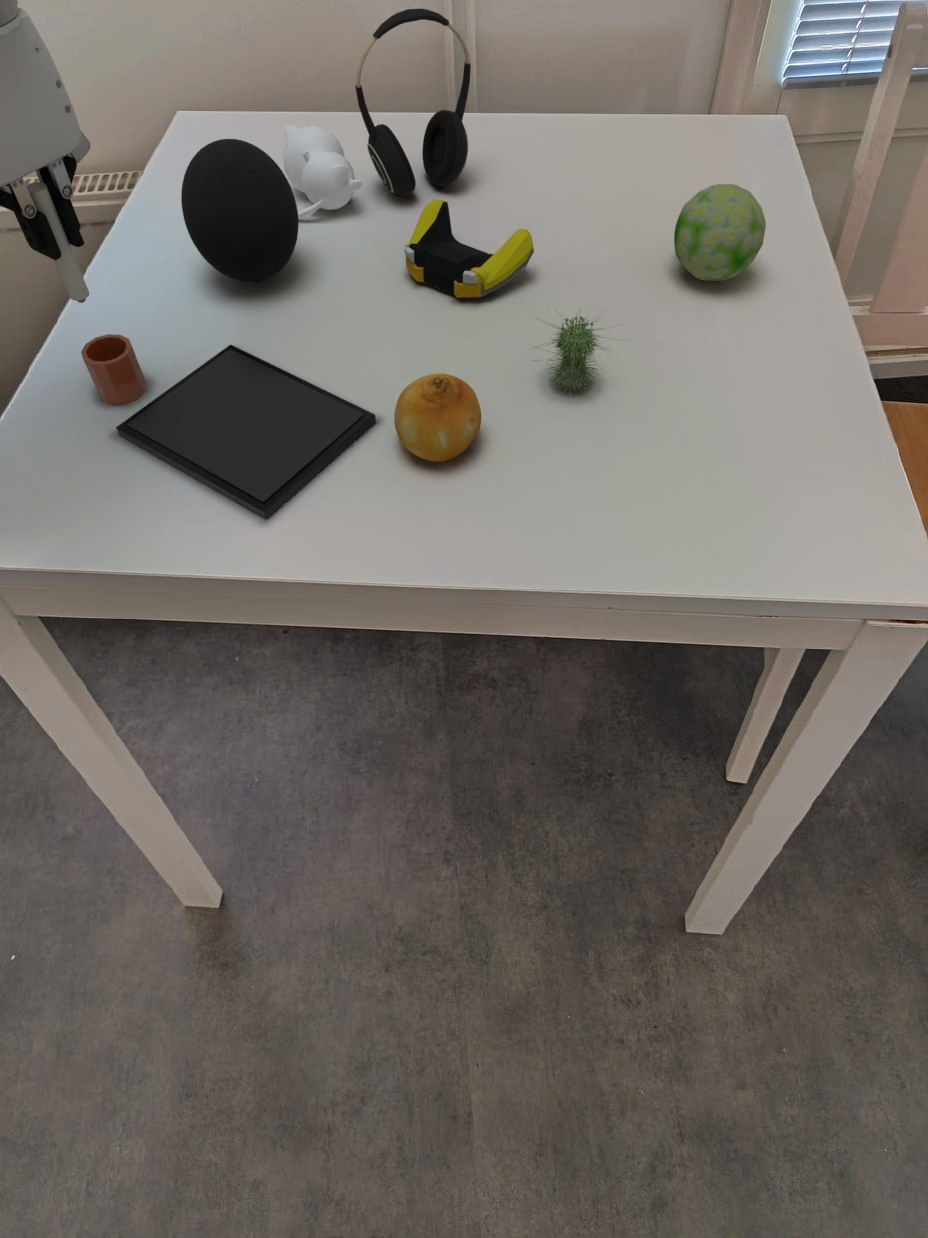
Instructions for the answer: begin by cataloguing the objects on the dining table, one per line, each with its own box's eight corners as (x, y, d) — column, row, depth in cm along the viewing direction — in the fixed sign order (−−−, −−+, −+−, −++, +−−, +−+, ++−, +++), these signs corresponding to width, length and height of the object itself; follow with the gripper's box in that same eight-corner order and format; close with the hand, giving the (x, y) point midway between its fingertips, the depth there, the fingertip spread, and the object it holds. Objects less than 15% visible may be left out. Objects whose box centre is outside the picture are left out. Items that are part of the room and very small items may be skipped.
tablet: (266, 519, 77) (263, 510, 76) (118, 435, 84) (114, 425, 83) (376, 422, 84) (375, 412, 83) (232, 351, 91) (229, 342, 90)
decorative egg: (329, 266, 101) (308, 134, 89) (260, 318, 95) (228, 185, 83) (251, 235, 105) (221, 105, 93) (180, 284, 99) (139, 152, 87)
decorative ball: (769, 283, 97) (796, 197, 89) (699, 308, 95) (719, 222, 87) (717, 242, 102) (737, 157, 94) (648, 264, 100) (663, 179, 92)
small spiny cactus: (636, 421, 84) (649, 358, 78) (516, 424, 84) (519, 361, 78) (621, 346, 91) (632, 283, 85) (510, 348, 91) (512, 286, 85)
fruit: (470, 470, 77) (471, 379, 74) (385, 466, 78) (382, 377, 75) (486, 452, 84) (487, 369, 81) (407, 448, 86) (405, 366, 83)
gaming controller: (435, 234, 104) (385, 273, 100) (433, 190, 100) (381, 228, 95) (538, 273, 99) (490, 315, 94) (541, 228, 95) (491, 270, 90)
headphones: (356, 185, 112) (335, 8, 95) (457, 160, 115) (454, -14, 99) (379, 216, 107) (362, 35, 91) (484, 189, 111) (486, 11, 94)
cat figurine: (339, 141, 99) (303, 97, 105) (276, 207, 102) (244, 160, 108) (381, 192, 106) (345, 149, 112) (321, 253, 109) (289, 207, 115)
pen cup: (121, 410, 86) (103, 370, 82) (90, 393, 88) (71, 352, 84) (156, 385, 88) (141, 344, 84) (125, 368, 90) (108, 328, 86)
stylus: (80, 309, 78) (32, 194, 70) (68, 303, 79) (19, 188, 70) (96, 300, 79) (50, 185, 71) (83, 294, 80) (36, 179, 71)
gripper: (17, -39, 65) (101, 198, 80) (-175, 26, 58) (-43, 275, 72) (81, -20, 63) (156, 222, 77) (-112, 51, 55) (12, 304, 70)
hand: (59, 246), depth 75 cm, fingers closed on stylus, 1 cm apart
